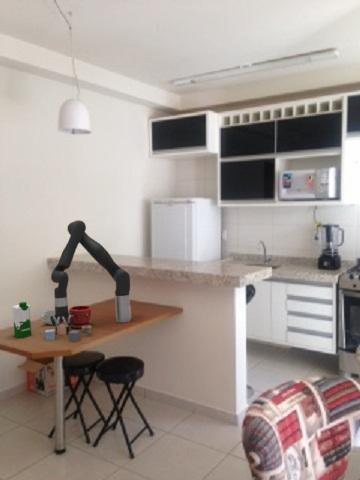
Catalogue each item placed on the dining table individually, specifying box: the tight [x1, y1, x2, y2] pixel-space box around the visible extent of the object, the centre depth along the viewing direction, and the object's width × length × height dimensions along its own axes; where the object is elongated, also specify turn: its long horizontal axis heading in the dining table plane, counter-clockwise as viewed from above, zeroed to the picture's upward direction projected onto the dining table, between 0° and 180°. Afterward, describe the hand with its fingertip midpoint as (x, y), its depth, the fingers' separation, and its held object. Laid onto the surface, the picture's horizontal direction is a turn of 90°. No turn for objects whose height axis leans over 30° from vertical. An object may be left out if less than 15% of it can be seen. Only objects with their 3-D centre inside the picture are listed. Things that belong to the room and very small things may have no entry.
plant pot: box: [68, 305, 92, 329], centre depth 266 cm, size 13×13×12 cm
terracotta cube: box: [56, 323, 68, 336], centre depth 253 cm, size 5×5×5 cm
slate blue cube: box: [45, 328, 56, 342], centre depth 243 cm, size 5×5×5 cm
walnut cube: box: [81, 324, 93, 338], centre depth 248 cm, size 5×5×5 cm
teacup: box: [40, 309, 57, 326], centre depth 274 cm, size 14×11×8 cm
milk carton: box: [11, 301, 33, 339], centre depth 250 cm, size 9×9×20 cm
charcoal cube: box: [67, 329, 82, 343], centre depth 240 cm, size 5×5×5 cm
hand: (62, 332), depth 253 cm, fingers closed on terracotta cube, 5 cm apart
